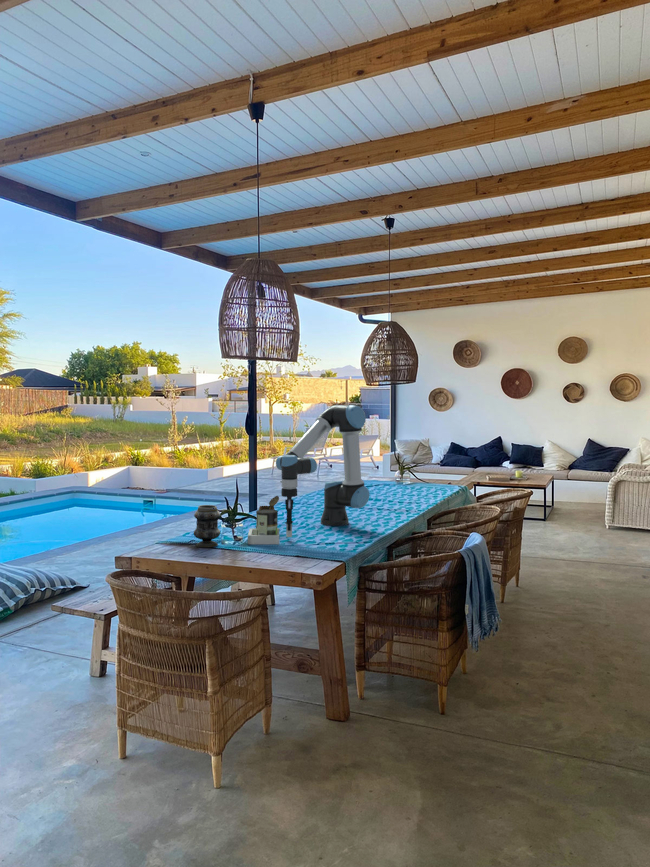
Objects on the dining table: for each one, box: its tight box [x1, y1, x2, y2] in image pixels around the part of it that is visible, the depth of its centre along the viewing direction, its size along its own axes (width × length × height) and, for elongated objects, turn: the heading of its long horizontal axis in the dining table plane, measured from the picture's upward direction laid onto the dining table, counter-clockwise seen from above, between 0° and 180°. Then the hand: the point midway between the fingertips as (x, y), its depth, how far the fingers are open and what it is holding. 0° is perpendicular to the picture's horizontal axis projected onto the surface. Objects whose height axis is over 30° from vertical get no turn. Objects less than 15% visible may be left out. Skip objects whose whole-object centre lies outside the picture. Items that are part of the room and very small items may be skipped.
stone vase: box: [193, 504, 221, 548], centre depth 283 cm, size 12×12×18 cm
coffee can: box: [255, 509, 279, 535], centre depth 295 cm, size 10×10×14 cm
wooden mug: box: [258, 495, 280, 510], centre depth 321 cm, size 9×14×18 cm, turn 50°
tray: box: [247, 527, 280, 545], centre depth 295 cm, size 14×16×4 cm
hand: (289, 536), depth 296 cm, fingers closed
